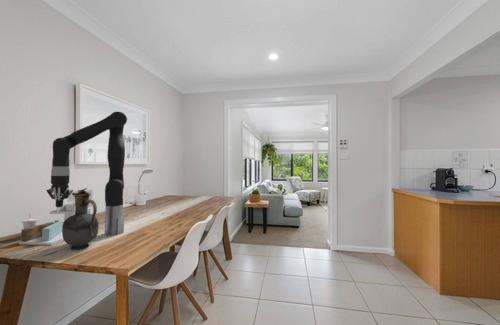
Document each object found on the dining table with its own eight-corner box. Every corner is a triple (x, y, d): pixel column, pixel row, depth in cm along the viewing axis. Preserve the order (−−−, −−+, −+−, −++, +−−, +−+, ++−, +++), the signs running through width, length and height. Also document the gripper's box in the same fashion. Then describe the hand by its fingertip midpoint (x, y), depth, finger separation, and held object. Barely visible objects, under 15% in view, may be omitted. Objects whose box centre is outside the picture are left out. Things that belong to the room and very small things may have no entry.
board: (82, 233, 130) (82, 231, 130) (51, 245, 110) (51, 242, 110) (55, 232, 130) (55, 230, 130) (19, 244, 110) (19, 242, 110)
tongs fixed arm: (48, 232, 125) (49, 222, 126) (53, 232, 125) (54, 222, 126) (21, 241, 110) (21, 229, 111) (26, 241, 110) (27, 229, 111)
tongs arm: (55, 232, 127) (55, 220, 128) (64, 231, 129) (64, 219, 129) (38, 241, 111) (39, 228, 111) (49, 240, 113) (49, 227, 113)
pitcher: (82, 241, 115) (84, 186, 116) (105, 247, 108) (107, 188, 109) (58, 248, 105) (60, 188, 106) (81, 255, 98) (84, 190, 99)
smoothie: (18, 239, 118) (20, 213, 118) (24, 235, 123) (25, 211, 124) (34, 237, 121) (35, 212, 121) (39, 234, 126) (40, 210, 127)
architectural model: (80, 231, 134) (81, 194, 135) (42, 232, 130) (43, 194, 131) (103, 220, 161) (104, 189, 162) (72, 221, 158) (73, 189, 159)
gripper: (78, 174, 118) (77, 206, 118) (54, 174, 119) (53, 205, 118) (66, 175, 111) (65, 208, 110) (41, 174, 111) (40, 208, 111)
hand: (59, 206), depth 114 cm, fingers closed
